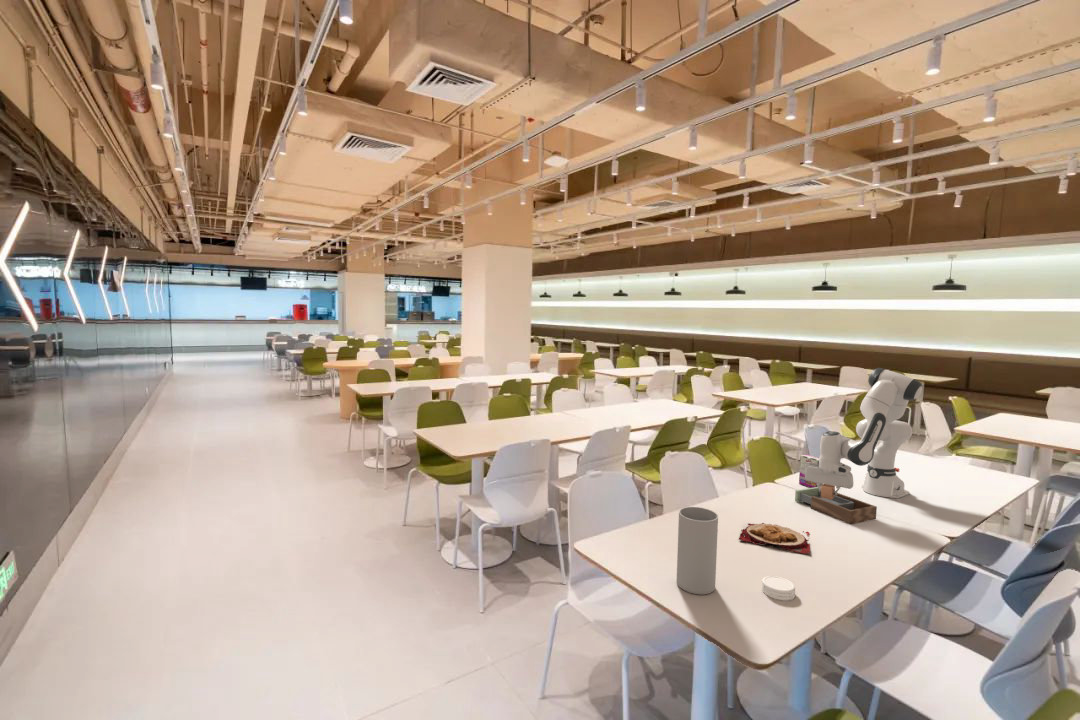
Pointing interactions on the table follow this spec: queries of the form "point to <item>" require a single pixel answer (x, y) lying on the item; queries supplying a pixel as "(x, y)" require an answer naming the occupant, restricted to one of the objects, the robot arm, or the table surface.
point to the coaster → (778, 588)
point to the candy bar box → (803, 461)
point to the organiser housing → (845, 510)
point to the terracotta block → (827, 491)
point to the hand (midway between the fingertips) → (827, 493)
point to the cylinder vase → (697, 550)
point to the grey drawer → (807, 494)
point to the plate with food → (775, 537)
